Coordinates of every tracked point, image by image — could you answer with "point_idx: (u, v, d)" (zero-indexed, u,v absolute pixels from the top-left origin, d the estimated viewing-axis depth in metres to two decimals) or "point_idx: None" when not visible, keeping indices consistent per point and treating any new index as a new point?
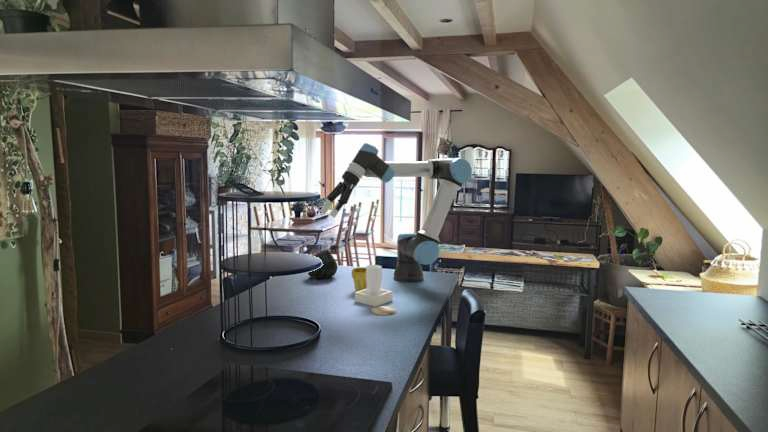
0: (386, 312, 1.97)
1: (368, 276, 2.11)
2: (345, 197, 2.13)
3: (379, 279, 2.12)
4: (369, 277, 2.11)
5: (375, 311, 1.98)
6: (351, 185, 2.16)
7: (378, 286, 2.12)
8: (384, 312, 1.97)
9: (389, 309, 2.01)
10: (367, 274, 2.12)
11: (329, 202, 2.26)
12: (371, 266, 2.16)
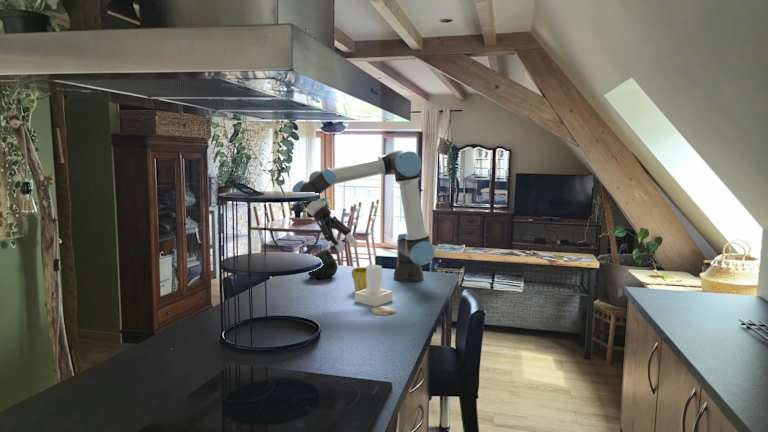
0: (386, 312, 1.97)
1: (368, 276, 2.11)
2: (324, 234, 2.10)
3: (379, 279, 2.12)
4: (369, 277, 2.11)
5: (375, 311, 1.98)
6: (319, 222, 2.13)
7: (378, 286, 2.12)
8: (384, 312, 1.97)
9: (389, 309, 2.01)
10: (367, 274, 2.12)
11: (347, 235, 2.23)
12: (371, 266, 2.16)
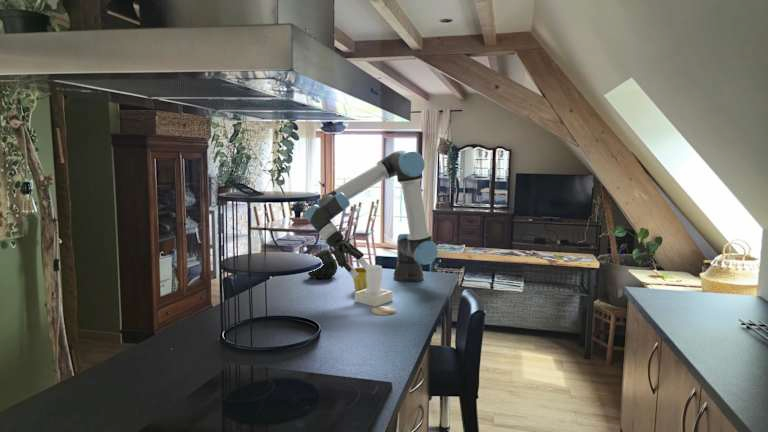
0: (386, 312, 1.97)
1: (368, 276, 2.11)
2: (338, 260, 2.08)
3: (379, 279, 2.12)
4: (369, 277, 2.11)
5: (375, 311, 1.98)
6: (332, 248, 2.11)
7: (378, 286, 2.12)
8: (384, 312, 1.97)
9: (389, 309, 2.01)
10: (367, 274, 2.12)
11: (360, 260, 2.22)
12: (371, 266, 2.16)
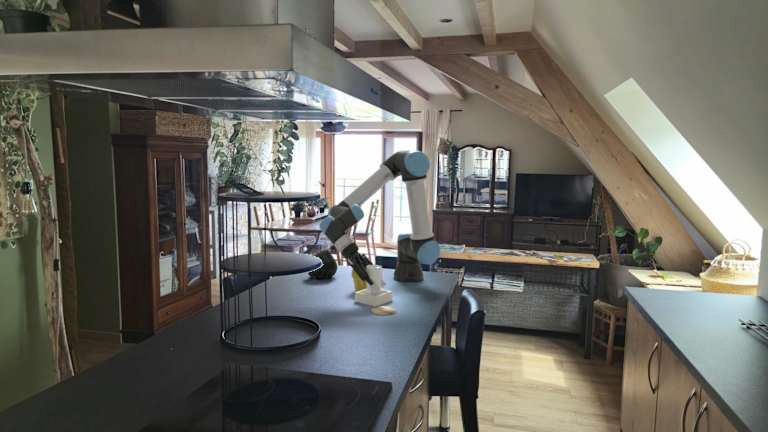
0: (386, 312, 1.97)
1: None
2: (359, 275, 2.08)
3: (379, 279, 2.12)
4: None
5: (375, 311, 1.98)
6: (350, 262, 2.10)
7: None
8: (384, 312, 1.97)
9: (389, 309, 2.01)
10: None
11: None
12: (371, 266, 2.16)
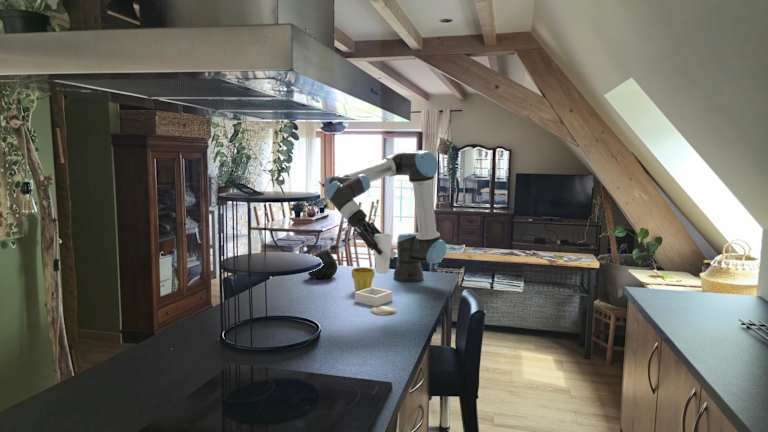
0: (386, 312, 1.97)
1: None
2: (367, 243, 1.93)
3: (388, 248, 1.96)
4: None
5: (375, 311, 1.98)
6: (357, 230, 1.94)
7: None
8: (384, 312, 1.97)
9: (389, 309, 2.01)
10: None
11: None
12: (380, 235, 2.00)
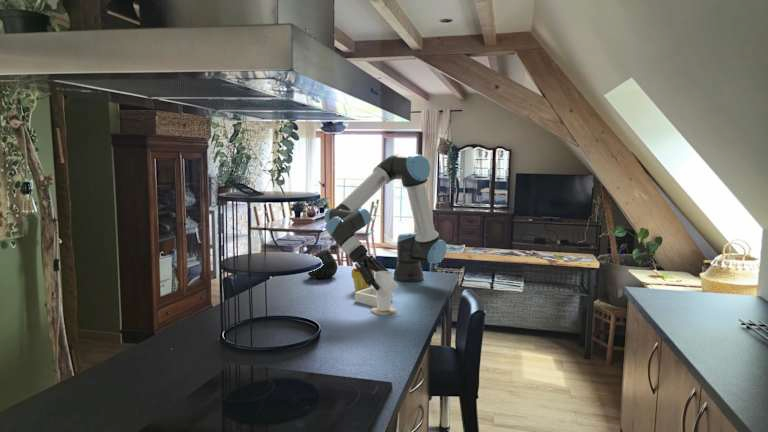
0: (386, 312, 1.97)
1: None
2: (365, 278, 1.93)
3: (389, 286, 1.97)
4: None
5: (375, 311, 1.98)
6: (357, 264, 1.95)
7: (388, 294, 1.98)
8: (384, 312, 1.97)
9: None
10: None
11: None
12: (381, 272, 2.02)
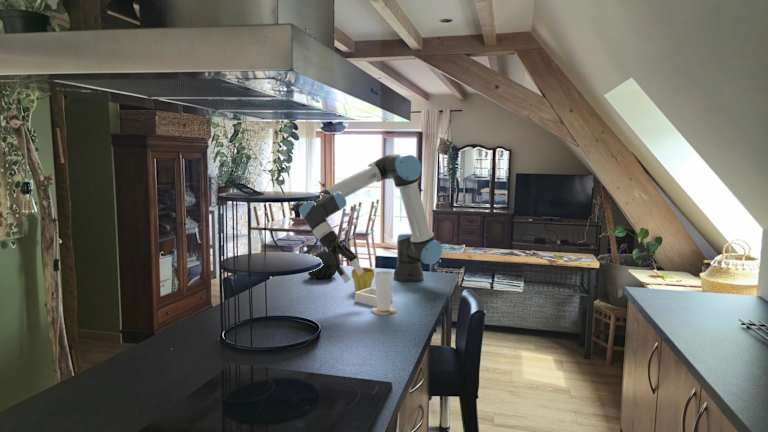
0: (386, 312, 1.97)
1: (378, 283, 1.97)
2: (331, 263, 1.98)
3: (389, 286, 1.97)
4: (379, 284, 1.97)
5: (375, 311, 1.98)
6: (325, 249, 2.01)
7: (388, 294, 1.98)
8: (384, 312, 1.97)
9: None
10: (377, 281, 1.97)
11: (353, 262, 2.12)
12: (381, 272, 2.02)
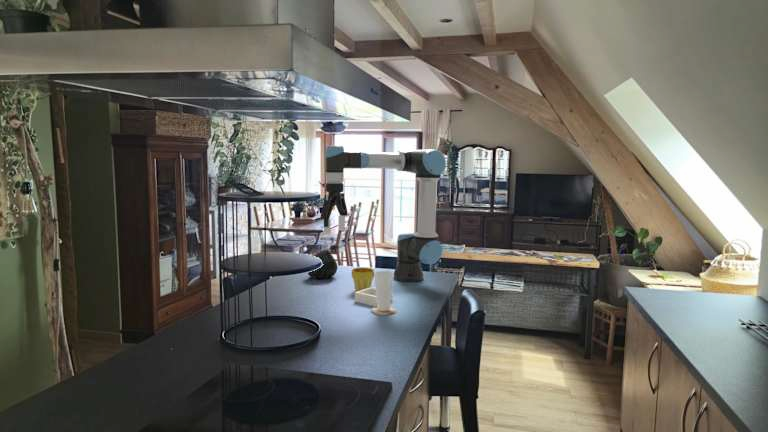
0: (386, 312, 1.97)
1: (378, 283, 1.97)
2: (323, 212, 2.06)
3: (389, 286, 1.97)
4: (379, 284, 1.97)
5: (375, 311, 1.98)
6: (326, 196, 2.08)
7: (388, 294, 1.98)
8: (384, 312, 1.97)
9: None
10: (376, 281, 1.97)
11: (341, 217, 2.21)
12: (381, 272, 2.02)
